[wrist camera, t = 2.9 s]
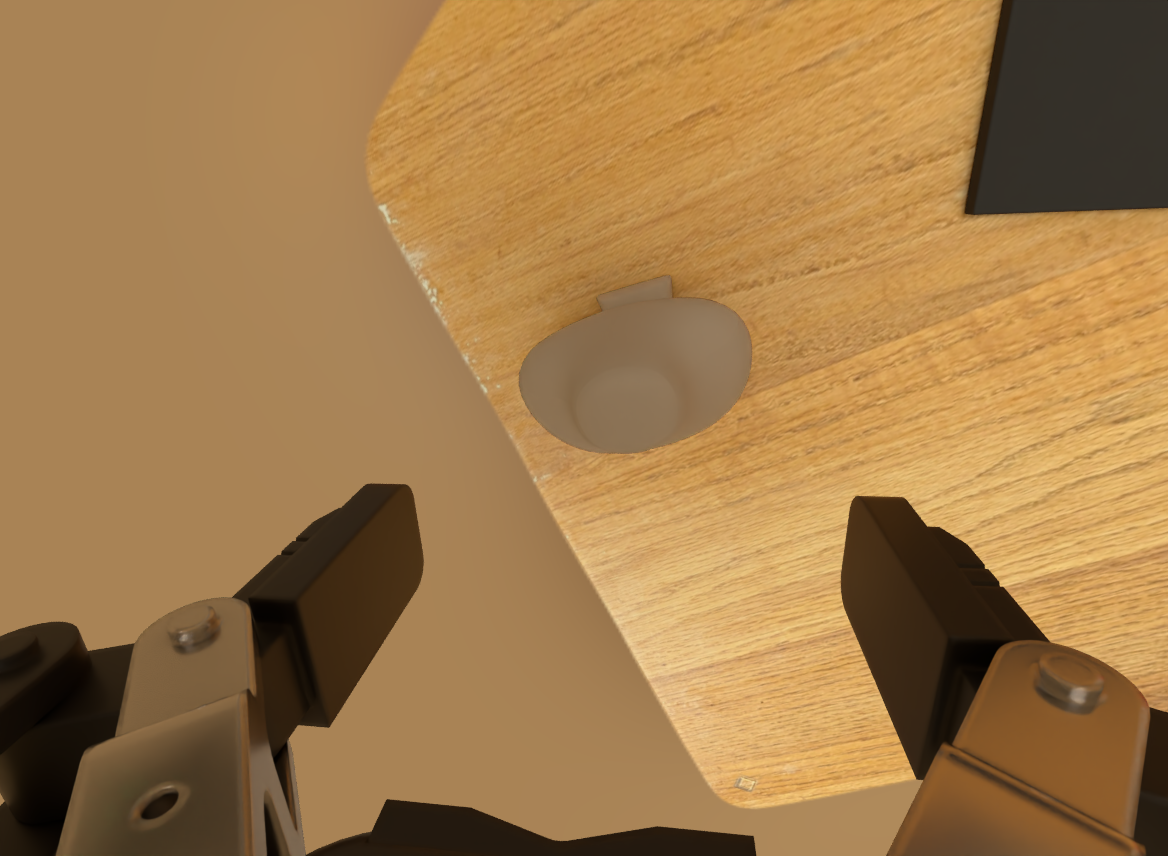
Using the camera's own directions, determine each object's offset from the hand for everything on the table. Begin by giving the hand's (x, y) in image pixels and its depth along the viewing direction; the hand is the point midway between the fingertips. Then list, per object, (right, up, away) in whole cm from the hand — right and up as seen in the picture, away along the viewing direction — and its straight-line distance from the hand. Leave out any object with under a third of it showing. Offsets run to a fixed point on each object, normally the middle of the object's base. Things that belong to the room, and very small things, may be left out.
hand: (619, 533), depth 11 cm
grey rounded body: (+2, +6, +16) cm, 17 cm away
